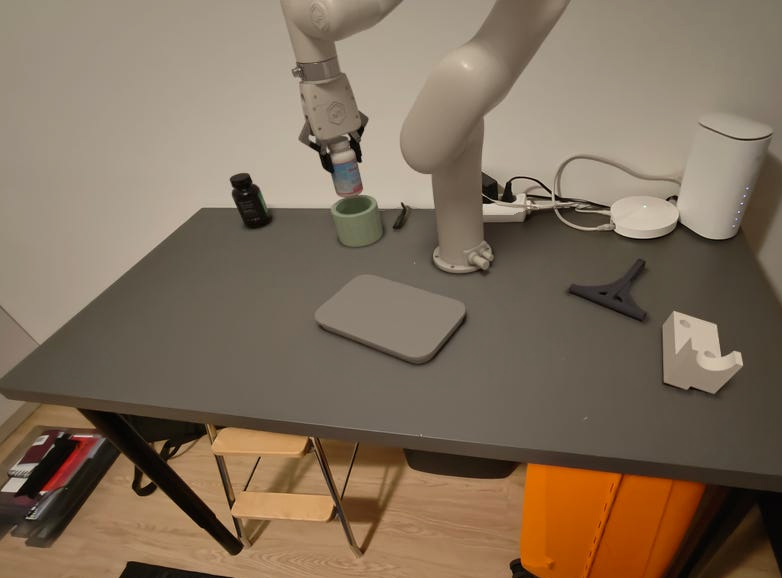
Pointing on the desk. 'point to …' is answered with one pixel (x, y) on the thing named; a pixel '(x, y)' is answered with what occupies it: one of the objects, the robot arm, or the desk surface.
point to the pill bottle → (344, 167)
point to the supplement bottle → (249, 201)
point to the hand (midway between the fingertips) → (343, 165)
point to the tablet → (392, 317)
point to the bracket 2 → (695, 354)
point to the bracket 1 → (615, 293)
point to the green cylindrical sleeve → (357, 220)
